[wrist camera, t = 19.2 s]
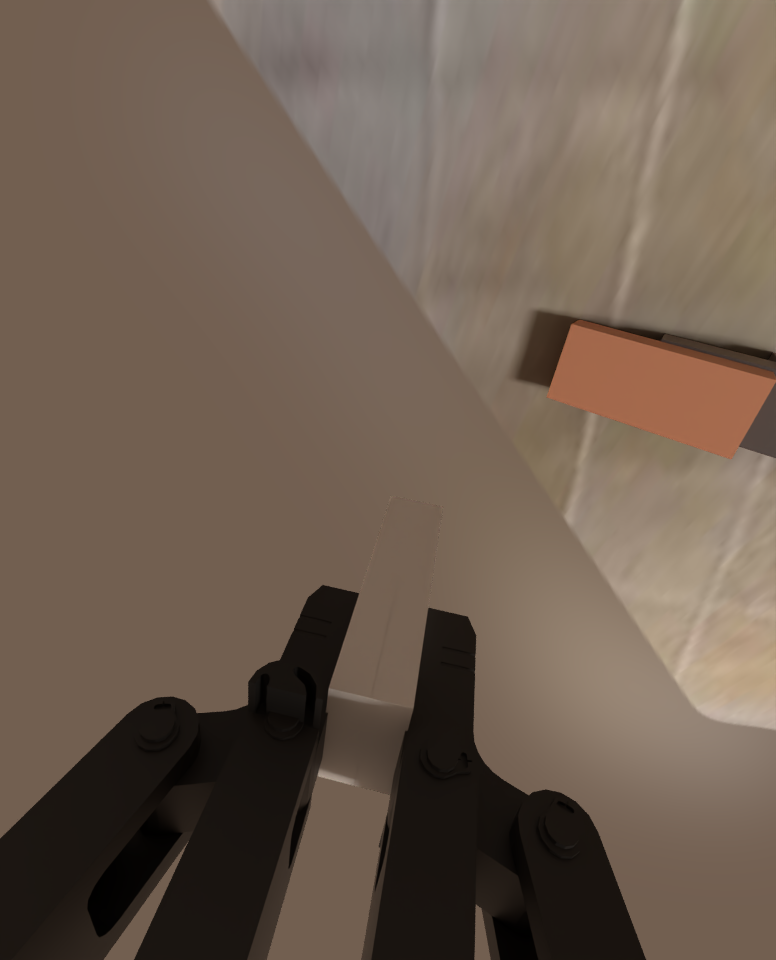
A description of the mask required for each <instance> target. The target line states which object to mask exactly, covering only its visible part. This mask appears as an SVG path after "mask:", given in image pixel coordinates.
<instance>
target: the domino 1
mask: <svg viewBox="0 0 776 960" xmlns="http://www.w3.org/2000/svg"><path fill="white" fill-rule="evenodd" d="M775 383H776V377H775V374H774V372H772V371H768V370H765V369H761V368H757V367H754V366H750V365H746V364H743V363H739V362H735V361H731V360H728V359H724V358H720V357H717V356H713V355H709V354H706V353H702V352H698V351H694V350H691V349H687V348H683V347H680V346H676V345H672V344H669V343H665V342H661V341H657V340H654V339H650V338H646V337H643V336H639V335H635V334H632V333H628V332H624V331H620V330H617V329H613V328H609V327H606V326H602V325H598V324H595V323H591V322H587V321H583V320H580V319H579V320H578V321H576V322H574V323H572V324H571V327H570V330H569V333H568V336H567V339H566V342H565V345H564V348H563V350H562V353H561V356H560V359H559V362H558V365H557V368H556V371H555V374H554V377H553V380H552V383H551V386H550V389H549V392H548V394H547V398H550V399H553V400H556V401H559V402H562V403H565V404H568V405H571V406H574V407H577V408H580V409H583V410H586V411H589V412H592V413H595V414H598V415H601V416H604V417H607V418H610V419H613V420H616V421H619V422H622V423H625V424H628V425H631V426H634V427H637V428H640V429H643V430H646V431H649V432H652V433H654V434H657V435H660V436H663V437H666V438H669V439H672V440H675V441H678V442H681V443H684V444H687V445H690V446H693V447H696V448H699V449H702V450H705V451H708V452H711V453H714V454H717V455H720V456H723V457H726V458H729V459H732V457H733V456H734V454H735V452H736V450H737V449H738V447H739V445H740V443H741V442H742V440H743V438H744V436H745V435H746V433H747V431H748V430H749V428H750V426H751V424H752V423H753V421H754V419H755V417H756V416H757V414H758V412H759V410H760V409H761V407H762V405H763V404H764V402H765V400H766V398H767V397H768V395H769V393H770V391H771V390H772V388H773V386H774V384H775Z"/></svg>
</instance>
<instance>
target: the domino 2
mask: <svg viewBox="0 0 776 960" xmlns="http://www.w3.org/2000/svg"><path fill="white" fill-rule="evenodd" d="M661 342H665V343H669V344H672V345H676V346H680V347H683V348H687V349H691V350H694V351H698V352H702V353H706V354H709V355H713V356H717V357H720V358H724V359H728V360H731V361H735V362H739V363H743V364H746V365H750V366H754V367H757V368H761V369H765V370H768V371H772V372H774V374H775V377H776V362H774V361H770V360H766V359H762V358H758V357H754V356H750V355H746V354H742V353H739V352H735V351H731V350H727V349H723V348H719V347H715V346H711V345H707V344H703V343H700V342H696V341H692V340H688V339H684V338H680V337H676V336H672V335H668V334H664V336H663V338H662V339H661ZM739 447H742V448H745V449H749V450H752V451H755V452H758V453H761V454H764V455H767V456H771V457H774V458H776V383H775V384H774V386H773V388H772V390H771V391H770V393H769V395H768V397H767V398H766V400H765V402H764V404H763V405H762V407H761V409H760V410H759V412H758V414H757V416H756V417H755V419H754V421H753V423H752V424H751V426H750V428H749V430H748V431H747V433H746V435H745V436H744V438H743V440H742V442H741V443H740V445H739Z"/></svg>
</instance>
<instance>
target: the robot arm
mask: <svg viewBox="0 0 776 960" xmlns="http://www.w3.org/2000/svg"><path fill="white" fill-rule="evenodd" d="M442 510H443V506H437V505H433V504H428V503H424V502H419V501H414V500H410V499H405V498H400V497H395V496H391V497H390V501H389V504H388V507H387V510H386V513H385V516H384V519H383V522H382V525H381V528H380V531H379V534H378V538H377V541H376V544H375V547H374V550H373V553H372V556H371V559H370V562H369V565H368V568H367V571H366V575H365V578H364V581H363V584H362V587H361V590H360V593H355V592H351V591H347V590H342V589H338V588H333V587H329V586H324V585H322V586H321V587H320V588H319V589H318V590H316V591H315V592H314V593H313V594H312V595H311V596H309V597H308V599H307V601H306V604H305V605H304V608H303V610H302V612H301V614H300V618H299V619H298V621H297V623H296V626H295V628H294V631H293V633H292V635H291V637H290V639H289V641H288V644H287V646H286V648H285V650H284V653H283V655H282V657H281V659H280V660H279V661H275V662H271V663H268V664H267V665H265V666H263V667H262V668H260V669H259V670H257V671H256V672H255V674H254V675H253V676H252V678H251V679H250V680H249V682H248V686H249V687H248V697H249V698H248V699H249V700H248V705H247V706H244V707H242V708H239V709H236V710H231V711H224V712H210V713H196V710H195V708H194V707H192V706H191V705H190V704H189V703H188V702H186V701H185V700H182V699H178V698H175V697H160V698H155V699H153V700H150V701H147V702H144V703H142V704H140V705H139V706H138V707H136V708H135V709H133V710H132V711H131V712H129V713H128V714H127V715H126V716H125V717H124V718H123V719H122V720H121V721H120V722H119V723H118V724H117V725H116V726H115V727H114V728H113V729H112V730H111V731H110V732H109V733H108V734H107V735H106V736H105V737H104V738H103V739H101V740H100V741H99V742H98V743H97V744H96V745H95V747H93V748H92V749H91V750H90V752H88V753H87V754H86V755H85V756H84V757H83V758H82V759H81V760H80V761H79V762H78V763H77V764H76V765H75V766H74V767H73V768H72V769H71V770H70V771H69V772H68V773H67V774H66V775H65V776H64V777H63V778H62V779H61V780H60V781H59V782H58V783H57V784H56V785H55V786H54V787H52V788H51V790H49V792H47V793H46V795H44V796H43V797H42V798H41V799H40V800H39V801H38V802H37V803H36V804H35V805H34V806H33V807H32V808H31V809H30V810H29V811H28V812H27V813H26V814H25V815H24V816H23V817H22V818H21V819H20V820H19V821H18V822H17V823H16V824H15V825H14V826H13V827H12V828H11V829H10V830H9V831H8V832H7V833H6V834H5V835H3V836H2V837H1V838H0V960H104V958H105V957H106V955H107V954H108V952H109V951H110V950H111V948H112V947H113V945H114V944H115V943H116V941H117V940H118V939H119V937H120V936H121V934H122V933H123V932H124V930H125V929H126V927H127V926H128V925H129V923H130V922H131V920H132V919H133V918H134V916H135V915H136V913H137V912H138V911H139V909H140V908H141V906H142V905H143V904H144V902H145V901H146V899H147V898H148V897H149V895H150V894H151V892H152V891H153V890H154V888H155V887H156V886H157V884H158V883H159V881H160V880H161V879H162V877H163V876H164V874H165V873H166V872H167V870H168V869H169V867H170V866H171V865H172V863H173V862H174V860H175V859H176V857H177V856H178V854H179V853H180V852H181V851H182V849H183V848H184V846H185V845H186V844H187V842H188V841H189V842H188V844H187V846H186V848H185V851H184V853H183V855H182V857H181V859H180V861H179V863H178V866H177V868H176V870H175V872H174V874H173V877H172V879H171V881H170V883H169V885H168V887H167V890H166V892H165V894H164V896H163V898H162V900H161V903H160V905H159V907H158V909H157V911H156V913H155V916H154V918H153V920H152V922H151V924H150V926H149V929H148V931H147V933H146V935H145V937H144V939H143V942H142V944H141V946H140V948H139V950H138V952H137V955H136V957H135V959H134V960H267V956H268V953H269V949H270V946H271V942H272V939H273V935H274V932H275V928H276V925H277V921H278V918H279V914H280V911H281V908H282V904H283V900H284V897H285V893H286V890H287V887H288V883H289V880H290V876H291V873H292V869H293V866H294V863H295V859H296V856H297V852H298V849H299V845H300V842H301V838H302V835H303V831H304V827H305V824H306V821H307V817H308V814H309V810H310V806H311V796H312V792H313V788H314V785H315V781H316V778H317V775H318V776H319V777H323V778H327V779H330V780H335V781H339V782H342V783H346V784H350V785H354V786H358V787H361V788H365V789H369V790H373V791H377V792H381V793H385V794H388V795H390V801H389V807H388V813H387V817H386V821H385V825H384V828H383V833H382V836H381V840H380V843H379V847H380V853H379V859H378V864H377V870H376V876H375V882H374V888H373V894H372V900H371V906H370V912H369V919H368V924H367V930H366V936H365V941H364V948H363V953H362V959H361V960H474V952H475V951H474V950H475V905H476V904H477V905H478V906H479V907H481V908H482V912H483V918H484V924H485V929H486V935H487V940H488V946H489V952H490V957H491V960H646V959H645V956H644V953H643V950H642V948H641V945H640V942H639V940H638V937H637V934H636V932H635V929H634V926H633V924H632V921H631V918H630V916H629V913H628V911H627V908H626V905H625V903H624V900H623V897H622V894H621V892H620V889H619V886H618V884H617V881H616V879H615V876H614V873H613V871H612V868H611V865H610V863H609V860H608V858H607V855H606V852H605V850H604V847H603V844H602V841H601V839H600V836H599V834H598V831H597V829H596V827H595V826H594V824H593V822H592V820H591V819H590V816H589V815H588V814H587V813H586V812H585V811H584V810H583V809H582V808H581V807H580V806H579V804H578V803H577V802H576V801H574V800H572V799H570V798H569V797H567V796H565V795H564V794H562V793H559V792H555V791H550V790H542V791H537V792H533V793H531V794H530V795H527V794H525V793H524V792H522V791H521V790H519V789H517V788H515V787H514V786H512V785H511V784H509V783H507V782H506V781H504V780H503V779H501V778H500V777H499V776H497V775H496V774H495V773H493V772H492V771H491V770H490V768H489V767H488V766H487V765H486V764H485V763H484V761H483V760H482V758H481V757H480V755H479V753H478V751H477V748H476V745H475V743H474V734H473V721H474V719H473V718H474V688H475V687H474V686H475V653H476V634H475V632H474V630H473V627H472V625H471V623H470V621H469V619H468V617H467V616H462V615H458V614H454V613H449V612H445V611H440V610H436V609H432V608H428V605H429V599H430V592H431V585H432V578H433V572H434V565H435V558H436V551H437V544H438V538H439V531H440V524H441V517H442ZM189 839H190V840H189Z"/></svg>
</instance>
